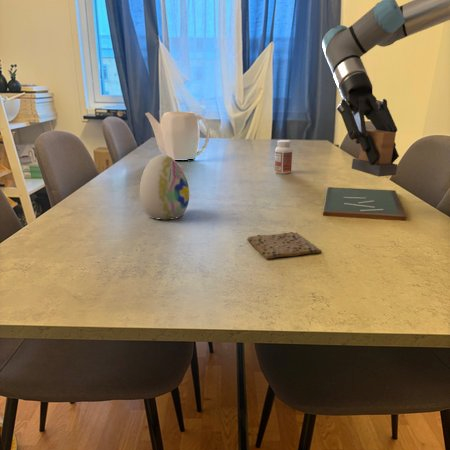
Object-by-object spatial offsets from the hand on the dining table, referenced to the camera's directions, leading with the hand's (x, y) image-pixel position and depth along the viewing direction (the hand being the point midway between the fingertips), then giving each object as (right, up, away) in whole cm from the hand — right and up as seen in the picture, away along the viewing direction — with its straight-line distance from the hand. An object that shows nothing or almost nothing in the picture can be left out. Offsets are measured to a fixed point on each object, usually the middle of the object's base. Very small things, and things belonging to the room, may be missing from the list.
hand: (384, 160), depth 103 cm
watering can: (-58, +27, +82) cm, 104 cm away
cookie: (-26, -22, -13) cm, 37 cm away
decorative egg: (-53, -12, +7) cm, 55 cm away
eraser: (-1, -1, +5) cm, 5 cm away
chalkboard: (0, -7, +16) cm, 18 cm away
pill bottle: (-17, +13, +56) cm, 60 cm away
